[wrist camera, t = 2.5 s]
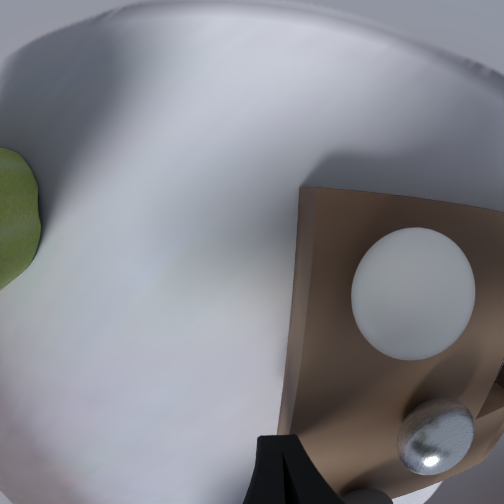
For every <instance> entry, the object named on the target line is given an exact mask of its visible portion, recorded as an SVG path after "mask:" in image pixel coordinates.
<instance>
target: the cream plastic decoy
mask: <svg viewBox="0 0 504 504" xmlns="http://www.w3.org/2000/svg"><path fill="white" fill-rule="evenodd" d="M351 302H352V310H353V314H354V317H355V320H356V324H357V326H358V328H359V330H360V331H361V333H362V334H363V336H364V337H365V339H366V340H367V341H368V342H369V343H370V344H371V345H372V346H373V347H374V348H376V349H377V350H379V351H380V352H382V353H383V354H385V355H387V356H390V357H392V358H395V359H400V360H408V361H413V360H422V359H426V358H429V357H432V356H435V355H437V354H439V353H441V352H442V351H444V350H445V349H447V348H448V347H449V346H451V345H452V344H453V343H454V342H455V341H456V340H457V339H458V338H459V336H460V335H461V334H462V332H463V331H464V329H465V328H466V326H467V324H468V322H469V320H470V317H471V314H472V311H473V307H474V302H475V281H474V276H473V272H472V269H471V266H470V263H469V262H468V260H467V258H466V256H465V254H464V253H463V252H462V250H461V249H460V248H459V247H458V246H457V245H456V244H455V243H454V242H453V241H452V240H451V239H449V238H448V237H446V236H445V235H443V234H441V233H439V232H437V231H434V230H431V229H426V228H420V227H418V228H405V229H400V230H397V231H394V232H392V233H390V234H388V235H386V236H384V237H383V238H381V239H380V240H378V241H377V242H376V243H375V244H374V245H373V246H372V247H371V248H370V249H369V250H368V251H367V252H366V254H365V255H364V256H363V258H362V260H361V261H360V263H359V265H358V267H357V270H356V272H355V275H354V279H353V283H352V290H351Z"/></svg>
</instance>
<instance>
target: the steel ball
mask: <svg viewBox="0 0 504 504" xmlns="http://www.w3.org/2000/svg"><path fill="white" fill-rule="evenodd" d="M474 431H475V425H474V420H473V416H472V414H471V412H470V410H469V409H468V408H467V406H465V405H464V404H463V403H462V402H460V401H459V400H456V399H453V398H449V397H438V398H433V399H430V400H427V401H425V402H423V403H421V404H420V405H418V406H417V407H416V408H414V409H413V410H412V411H411V412H410V413H409V414H408V415H407V417H406V418H405V420H404V421H403V423H402V424H401V427H400V429H399V432H398V436H397V444H396V445H397V452H398V456H399V458H400V460H401V462H402V463H403V465H404V466H405V467H406V468H408V469H409V470H410V471H412V472H414V473H417V474H421V475H435V474H439V473H442V472H445V471H447V470H449V469H451V468H452V467H454V466H455V465H456V464H457V463H459V462H460V461H461V460H462V458H463V457H464V456H465V455H466V453H467V452H468V450H469V448H470V446H471V444H472V441H473V437H474Z"/></svg>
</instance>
